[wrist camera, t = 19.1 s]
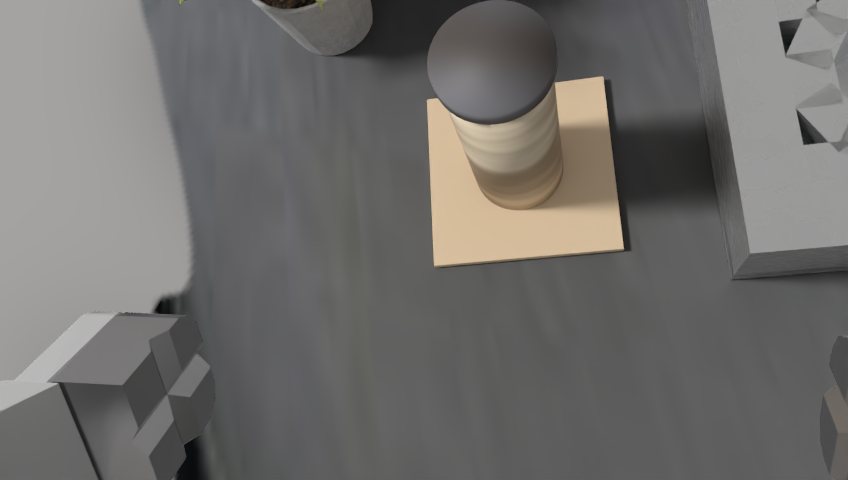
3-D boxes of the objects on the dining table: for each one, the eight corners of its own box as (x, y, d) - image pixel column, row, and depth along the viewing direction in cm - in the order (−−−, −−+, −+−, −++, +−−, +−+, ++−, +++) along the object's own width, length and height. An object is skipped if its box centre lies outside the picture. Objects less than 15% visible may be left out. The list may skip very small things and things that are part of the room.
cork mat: (623, 250, 39) (623, 248, 39) (435, 267, 41) (434, 265, 41) (603, 79, 42) (603, 76, 42) (428, 102, 44) (427, 99, 44)
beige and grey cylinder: (571, 208, 40) (561, 107, 29) (474, 218, 41) (429, 123, 30) (562, 120, 42) (551, -10, 30) (469, 131, 43) (425, 10, 31)
